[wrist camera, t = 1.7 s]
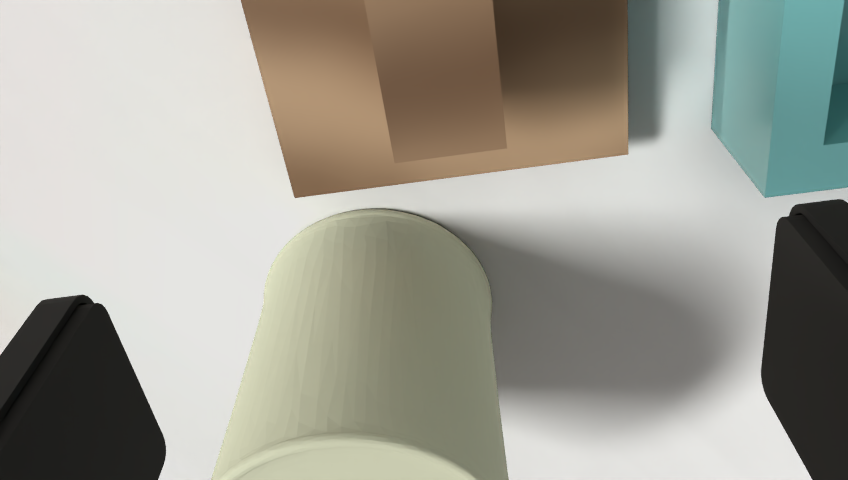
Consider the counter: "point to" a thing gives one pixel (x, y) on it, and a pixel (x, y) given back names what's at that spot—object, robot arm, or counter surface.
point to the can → (370, 360)
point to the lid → (439, 86)
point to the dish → (784, 92)
